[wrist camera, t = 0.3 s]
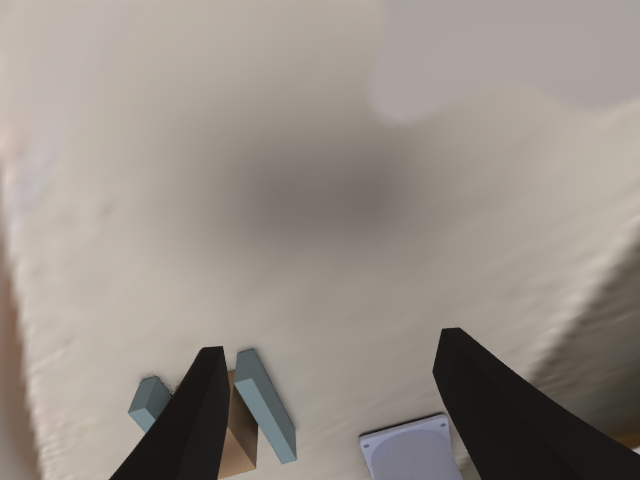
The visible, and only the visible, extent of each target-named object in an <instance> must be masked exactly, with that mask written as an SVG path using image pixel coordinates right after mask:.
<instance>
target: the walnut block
mask: <svg viewBox="0 0 640 480" xmlns="http://www.w3.org/2000/svg"><path fill="white" fill-rule="evenodd" d="M228 378H229V384H230V389H231V392H230V405H229V417H228V426H227V431H226V437H225V442H224V447H223V453H222V458H221V463H220V468H219V474H218V479H221V478H225V477H229V476H232V475H236V474H240V473H243V472H247V471H251V470H254V469H256V460H257V440H258V423H257V421H256V420H255V418H254V416H253V415H252V413H251V411H250V410H249V408H248V406H247V405H246V403H245V401H244V399H243V398H242V396H241V394H240V393H239V391H238V389H237V388H236V386H235V384H234V378H235V370H233V371H229V372H228ZM178 387H179V386H177V387H176V390H177V388H178ZM218 479H217V480H218Z"/></svg>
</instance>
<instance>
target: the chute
mask: <svg viewBox="0 0 640 480" xmlns="http://www.w3.org/2000/svg"><path fill="white" fill-rule="evenodd" d="M234 384H235V386H236V388H237V389H238V391H239V393H240V394H241V396H242V398H243V399H244V401H245V403H246V405H247V406H248V408H249V410H250V411H251V413H252V415H253V416H254V418H255V420H256V421H257V423H258V425H259V426H260V428H261V430H262V431H263V433H264V435H265V436H266V438H267V440H268V442H269V443H270V445H271V447H272V448H273V450H274V452H275V453H276V455H277V457H278V458H279V460H280V462H281V463H282V464H285V463H289V462H292V461H296V460H297V456H296V436H295V428H294V427H293V425H292V423H291V421H290V419H289V417H288V415H287V413H286V411H285V409H284V407H283V405H282V403H281V401H280V399H279V397H278V395H277V393H276V391H275V389H274V387H273V385H272V383H271V381H270V379H269V378H268V376H267V374H266V372H265V370H264V368H263V366H262V364H261V362H260V360H259V358H258V356H257V354H256V352H255V350H254V349H252V350H248V351H244V352H241V353H238V354H237V362H236V370H235V378H234ZM171 397H172V396H171V394H170V393H169V392H168V390H167V389H166V388H165V386H164V385H163V384H162V382H161V381H160V380H159V378H158V377H157V376H156V377H153V378H149V379H145V380H142V381H141V382H140V384H139V387H138V389H137V391H136V394H135V396H134V399H133V401H132V403H131V406H130V408H129V411H128V414H129V415H130V416H131V417H132V418H133V420H134V421H135V422H136V423H137V424H138V425H139V426H140V427H141V429H142V430H143V431H144V432H145V433H147V431H148V430H149V428H150V427H151V426H152V424H153V423H154V422H155V420H156V419H157V418H158V416H159V415H160V413H161V412H162V411H163V409H164V408H165V406H166V405H167V403H168V402H169V400H170V399H171Z"/></svg>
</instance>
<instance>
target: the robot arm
mask: <svg viewBox="0 0 640 480" xmlns="http://www.w3.org/2000/svg"><path fill="white" fill-rule="evenodd" d="M432 372H433V375H434V378H435V381H436V384H437V387H438V390H439V392H440V395H441V397H442V400H443V403H444V405H445V407H446V409H447V411H448V413H449V415H450V417H451V419H452V421H453V423H454V425H455V427H456V429H457V431H458V433H459V435H460V437H461V439H462V441H463V443H464V445H465V447H466V449H467V451H468V453H469V455H470V457H471V459H472V461H473V463H474V465H475V467H476V469H477V471H478V473H479V475H480V477H481V479H482V480H640V455H639V454H637V453H636V452H634V451H632V450H631V449H629V448H627V447H625V446H624V445H622V444H620V443H618V442H617V441H615V440H613V439H612V438H610V437H608V436H607V435H605V434H603V433H602V432H600V431H598V430H597V429H595V428H593V427H592V426H590V425H589V424H587V423H586V422H584V421H583V420H581V419H580V418H578V417H576V416H575V415H573V414H572V413H570V412H569V411H567V410H566V409H564V408H563V407H561V406H560V405H558V404H557V403H556V402H554V401H553V400H551V399H550V398H549V397H547V396H546V395H544V394H543V393H542V392H540V391H539V390H538V389H536V388H535V387H533V386H532V385H531V384H529V383H528V382H527V381H525V380H524V379H523V378H522V377H520V376H519V375H518V374H516V373H515V372H514V371H513V370H511V369H510V368H509V367H507V366H506V365H505V364H504V363H502V362H501V361H500V360H499V359H498V358H496V357H495V356H494V355H493V354H491V353H490V352H489V351H488V350H487V349H485V348H484V347H483V346H482V345H480V344H479V343H478V342H477V341H476V340H474V339H473V338H472V337H471V336H470V335H468V334H467V333H466V332H465V331H463V330H462V329H461V328H459V327H458V328H446V329H442V331H441V335H440V340H439V344H438V349H437V353H436V358H435V362H434V367H433V371H432ZM230 392H231V389H230V384H229V378H228V372H227V367H226V361H225V355H224V350H223V346H217V347H204V348H202V349H201V350H200V351H199V353H198V355H197V357H196V358H195V360H194V362H193V364H192V365H191V367H190V369H189V370H188V372H187V374H186V375H185V377H184V379H183V380H182V382H181V383H180V385H179V387H178V388H177V390H176V391H175V393H174V394H173V396H172V397H171V399H170V400H169V402H168V403H167V405H166V406H165V408H164V409H163V411H162V412H161V413H160V415H159V416H158V418H157V419H156V420H155V422H154V423H153V424H152V426H151V427H150V428H149V430H148V431H147V433H146V434H145V435H144V437H143V438H142V439H141V441H140V442H139V443H138V445H137V446H136V447H135V448H134V450H133V451H132V452H131V454H130V455H129V456H128V457H127V458H126V460H125V461H124V462H123V463H122V465H121V466H120V467H119V468H118V469H117V471H116V472H115V473H114V474H113V475H112V477H111V478H110V479H109V480H217V479H218V474H219V468H220V463H221V458H222V453H223V447H224V442H225V437H226V431H227V426H228V417H229V405H230ZM359 444H360V447H361V449H362V452H363V455H364V458H365V460H366V463H367V466H368V469H369V471H370V474H371V477H372V480H463V478H462V476H461V474H460V471H459V469H458V467H457V465H456V462H455V460H454V458H453V455H452V447H451V439H450V431H449V424H448V419H447V417H446V415H444V414H441V415H437V416H433V417H430V418H426V419H423V420H419V421H415V422H412V423H408V424H404V425H401V426H397V427H393V428H390V429H386V430H382V431H379V432H375V433H371V434H368V435H364V436H361V437H360V438H359Z"/></svg>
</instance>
